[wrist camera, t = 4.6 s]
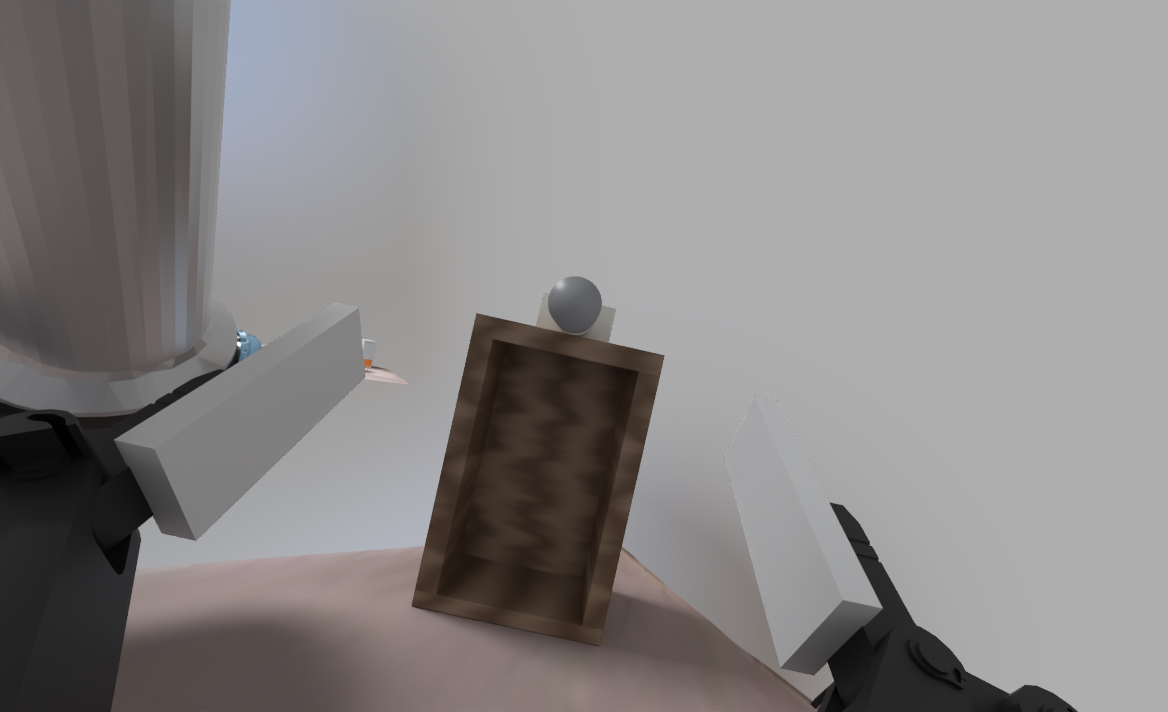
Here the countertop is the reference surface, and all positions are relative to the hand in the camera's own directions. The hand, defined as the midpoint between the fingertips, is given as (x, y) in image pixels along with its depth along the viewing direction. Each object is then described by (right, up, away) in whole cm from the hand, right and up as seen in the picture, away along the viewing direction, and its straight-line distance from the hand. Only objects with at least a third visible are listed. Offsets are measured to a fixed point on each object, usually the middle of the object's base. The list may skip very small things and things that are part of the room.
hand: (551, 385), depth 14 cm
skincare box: (-95, -4, +167) cm, 192 cm away
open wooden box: (-6, -24, +30) cm, 39 cm away
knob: (0, +3, +26) cm, 26 cm away
